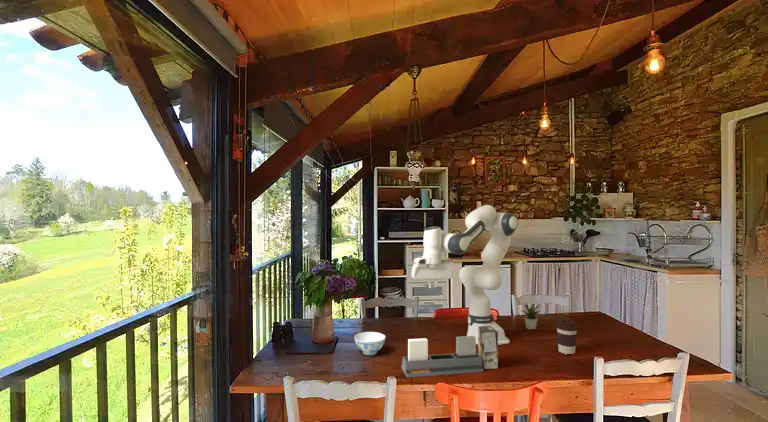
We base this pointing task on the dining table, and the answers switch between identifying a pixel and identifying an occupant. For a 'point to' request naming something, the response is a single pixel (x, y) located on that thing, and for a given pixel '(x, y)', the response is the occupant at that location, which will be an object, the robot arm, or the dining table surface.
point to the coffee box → (488, 346)
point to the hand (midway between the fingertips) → (432, 288)
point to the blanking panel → (417, 349)
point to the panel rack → (447, 361)
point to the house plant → (531, 316)
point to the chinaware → (369, 342)
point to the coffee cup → (566, 336)
